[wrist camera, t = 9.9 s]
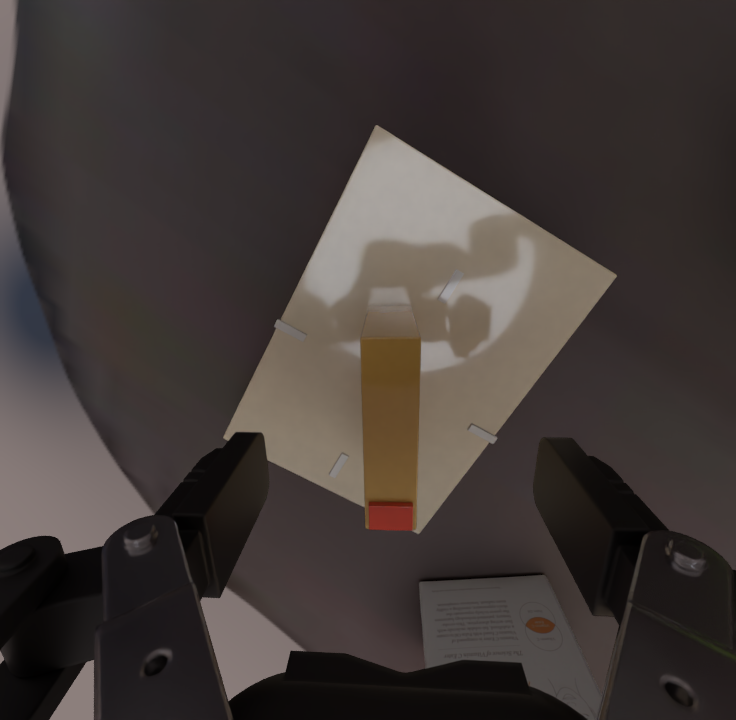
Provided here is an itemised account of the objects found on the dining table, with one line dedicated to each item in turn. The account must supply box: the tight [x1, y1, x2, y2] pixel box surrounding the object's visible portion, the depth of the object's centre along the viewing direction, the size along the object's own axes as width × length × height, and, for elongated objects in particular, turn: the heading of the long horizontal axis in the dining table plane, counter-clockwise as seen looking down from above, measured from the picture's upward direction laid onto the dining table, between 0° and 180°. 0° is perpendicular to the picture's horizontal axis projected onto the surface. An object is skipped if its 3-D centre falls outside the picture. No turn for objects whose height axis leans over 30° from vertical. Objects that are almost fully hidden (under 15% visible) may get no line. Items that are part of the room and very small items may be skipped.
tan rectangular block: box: [360, 305, 421, 531], centre depth 15 cm, size 7×2×5 cm, turn 1°
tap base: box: [223, 125, 617, 534], centre depth 18 cm, size 15×11×3 cm
